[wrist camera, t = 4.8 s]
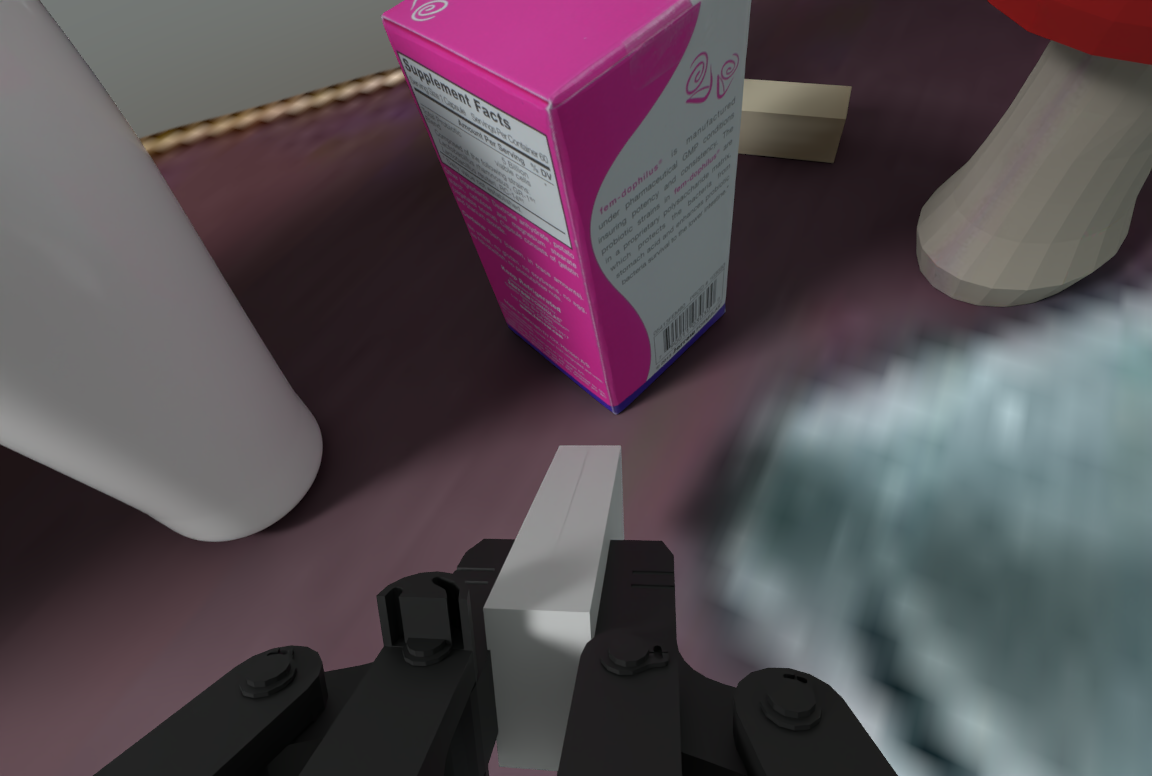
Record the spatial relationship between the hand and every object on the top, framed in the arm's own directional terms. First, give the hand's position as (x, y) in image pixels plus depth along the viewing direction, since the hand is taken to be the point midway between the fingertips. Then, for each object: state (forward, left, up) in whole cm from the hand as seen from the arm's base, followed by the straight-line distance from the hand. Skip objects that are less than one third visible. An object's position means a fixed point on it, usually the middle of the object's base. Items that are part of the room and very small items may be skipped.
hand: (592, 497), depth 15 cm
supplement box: (-2, +8, -4) cm, 9 cm away
